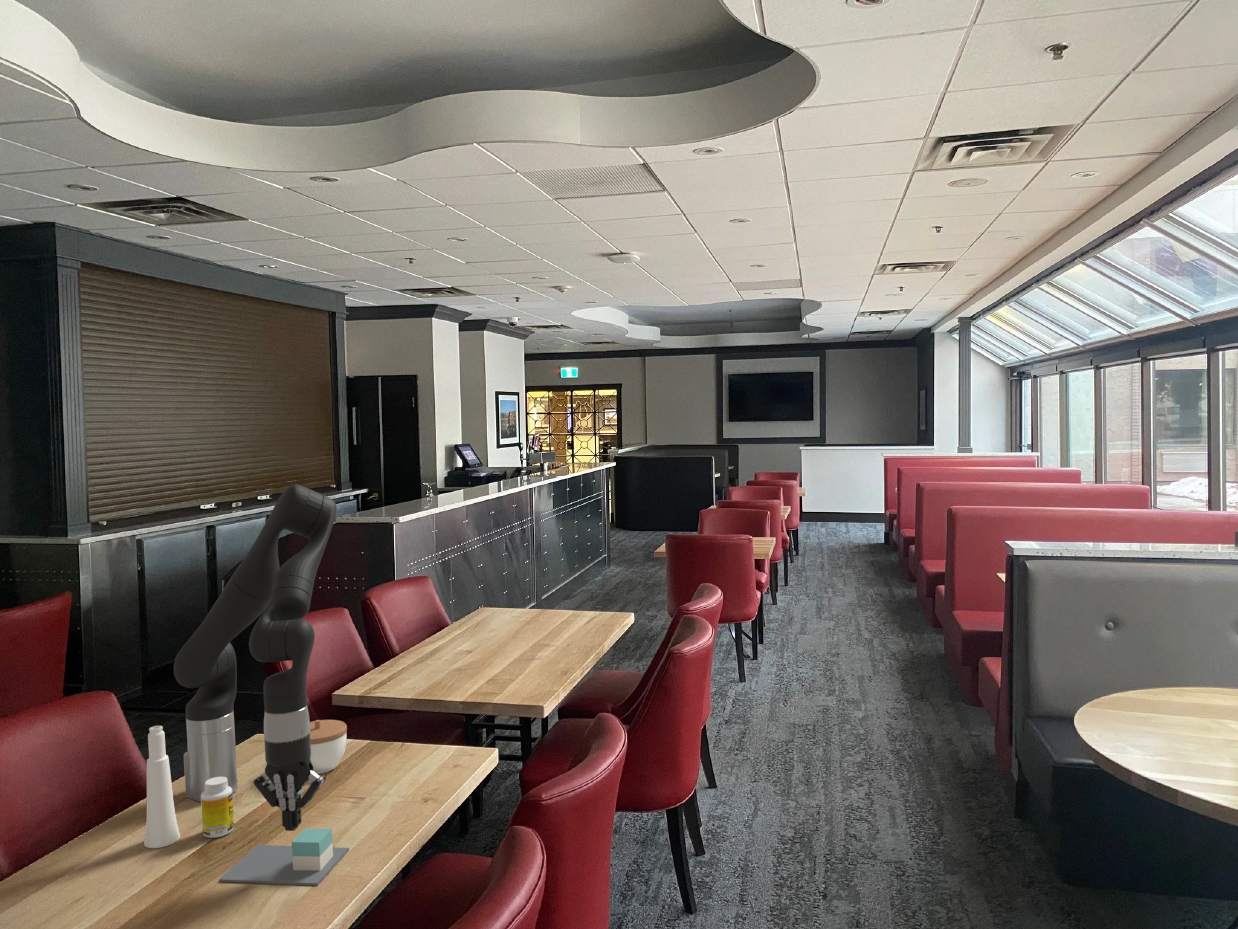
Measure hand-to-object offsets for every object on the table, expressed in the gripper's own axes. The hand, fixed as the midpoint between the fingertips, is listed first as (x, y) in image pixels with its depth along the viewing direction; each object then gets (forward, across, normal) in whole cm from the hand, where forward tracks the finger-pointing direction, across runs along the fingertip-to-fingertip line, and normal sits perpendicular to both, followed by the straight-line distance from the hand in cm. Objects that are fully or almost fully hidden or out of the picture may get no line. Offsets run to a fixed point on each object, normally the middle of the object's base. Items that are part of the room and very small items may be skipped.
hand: (292, 828), depth 149 cm
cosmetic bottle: (+7, +30, -7) cm, 32 cm away
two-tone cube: (+1, -4, 0) cm, 4 cm away
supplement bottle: (+7, +22, -11) cm, 25 cm away
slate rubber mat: (+7, +2, 0) cm, 7 cm away
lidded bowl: (+7, +16, -42) cm, 46 cm away
